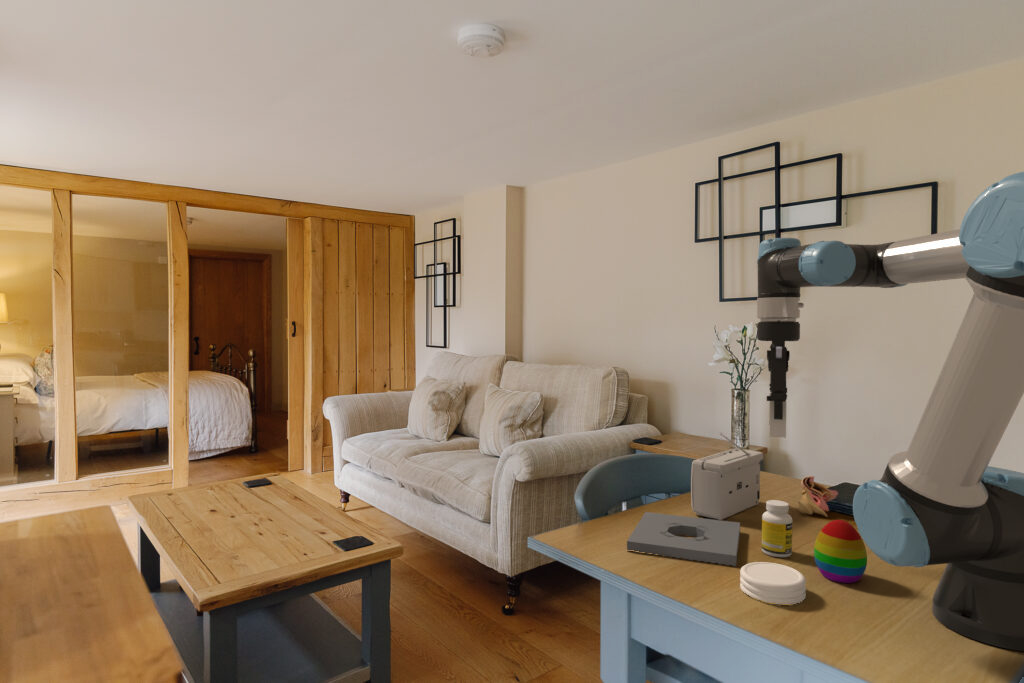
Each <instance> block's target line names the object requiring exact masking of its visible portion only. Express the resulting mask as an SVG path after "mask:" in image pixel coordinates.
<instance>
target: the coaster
mask: <svg viewBox="0 0 1024 683" xmlns="http://www.w3.org/2000/svg"><path fill="white" fill-rule="evenodd" d="M739 574H740V576H739V580H740V583H739V588H740V590H741V591H743V592H744V593H746V594H747V595H749V596H751V597H753V598H756V599H758V600H762V601H765V602H769V603H776V604H796V603H799V604H801V603H802V601H803V600H804V599H806V598H807V594H806V590H807V587H806V586H807V585H806V583H807V580H806V577H805V576H804V574H803V573H802V572H800V571H799V570H797V569H795V568H793V567H791V566H788V565H784V564H781V563H775V562H769V561H768V562H767V561H755V562H754V561H753V562H749V563H746V564H745V565H743V566H741V568H740V570H739ZM744 593H743V594H744ZM746 594H745V595H746ZM747 595H746V596H747ZM804 601H805V600H804ZM804 601H803V602H804ZM800 602H801V603H800ZM796 605H797V604H796Z"/></svg>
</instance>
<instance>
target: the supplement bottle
mask: <svg viewBox="0 0 1024 683" xmlns="http://www.w3.org/2000/svg"><path fill="white" fill-rule="evenodd" d="M765 504H766V505H765V509H766V511H764V512H763V513H762V515H761V552H763V553H764V554H765V555H766V556H770V557H774V558H775V557H776V558H789V557H791V555H792V553H793V518H792V516H791V515H790V514H789V512H790V511H789V510H790V509H789V508H790V507H789V506H790V504H789V503H788V502H786V501H783V500H779V499H777V500H776V499H771V500H767V501H766V502H765Z"/></svg>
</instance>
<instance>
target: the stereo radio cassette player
mask: <svg viewBox="0 0 1024 683" xmlns="http://www.w3.org/2000/svg"><path fill="white" fill-rule="evenodd" d="M719 435H720V436H722V437H723V438H725V439H726V441H728V442H729V443H730V444H732V445H733V446H734V447H735V448H731V449H728V450H724V451H721V452H718V453H715V454H711V455H707V456H704V457H701V458H697V459H695V460H692V463H691V471H690V472H691V473H690V502H691V504H690V505H691V510H692V511H693V512H694V513H695V514H696V515H697V516H699V517H706V518H708V519H713V520H721V521H723V520H724V519H727V518H729V517H732V516H733V515H736V514H737V513H740V512H742V511H745V510H747V509H749V508H752V507H754V506H757V505H759V503H760V499H761V461H763V460H764V453H763V452H761V451H757V450H752V449H751V450H750V449H745V448H742V447H740V445H738V444H737V443H736V442H734V441H733V440H731V439H730V438H728V437H727V436H725V435H724V434H723V433H722V432H719Z"/></svg>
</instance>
